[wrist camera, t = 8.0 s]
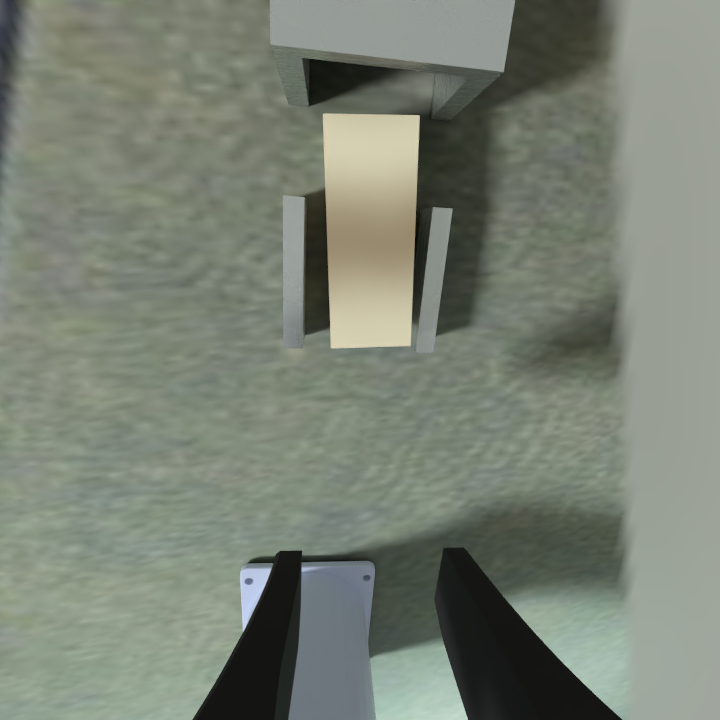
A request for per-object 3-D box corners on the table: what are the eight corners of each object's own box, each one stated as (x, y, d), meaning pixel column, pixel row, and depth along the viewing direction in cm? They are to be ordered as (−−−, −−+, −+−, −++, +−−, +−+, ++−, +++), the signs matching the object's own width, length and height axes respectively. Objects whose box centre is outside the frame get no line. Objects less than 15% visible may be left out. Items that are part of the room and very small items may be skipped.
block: (449, 120, 15) (503, 71, 11) (288, 104, 15) (270, 44, 10) (463, 6, 14) (532, -107, 9) (288, -18, 13) (267, -152, 9)
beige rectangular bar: (394, 324, 18) (410, 345, 15) (330, 326, 18) (331, 348, 15) (399, 140, 16) (419, 115, 12) (323, 139, 15) (323, 113, 12)
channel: (422, 340, 18) (433, 353, 17) (287, 335, 18) (283, 347, 16) (438, 211, 16) (452, 208, 15) (288, 199, 16) (283, 195, 14)
